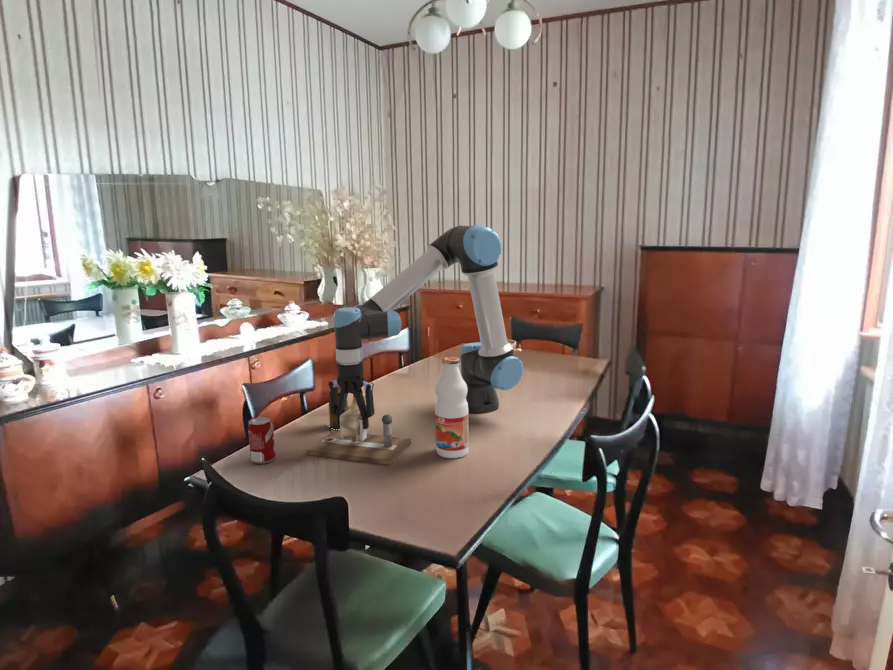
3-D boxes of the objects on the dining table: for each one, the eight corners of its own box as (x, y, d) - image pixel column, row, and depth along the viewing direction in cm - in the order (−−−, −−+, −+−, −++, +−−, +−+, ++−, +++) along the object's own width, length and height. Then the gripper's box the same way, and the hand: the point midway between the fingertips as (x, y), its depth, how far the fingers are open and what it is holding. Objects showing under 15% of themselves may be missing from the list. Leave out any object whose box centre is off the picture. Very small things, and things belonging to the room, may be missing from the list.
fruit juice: (475, 452, 170) (474, 358, 164) (452, 462, 164) (450, 364, 158) (453, 443, 177) (451, 352, 171) (429, 452, 170) (427, 358, 165)
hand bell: (367, 412, 206) (365, 368, 203) (345, 411, 208) (342, 367, 204) (375, 405, 214) (373, 362, 211) (353, 404, 216) (351, 361, 212)
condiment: (346, 421, 198) (344, 386, 195) (354, 429, 190) (352, 393, 188) (325, 424, 195) (323, 390, 192) (332, 433, 187) (329, 397, 185)
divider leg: (366, 438, 176) (364, 410, 174) (356, 446, 171) (355, 417, 169) (351, 436, 178) (349, 409, 176) (341, 444, 172) (339, 415, 170)
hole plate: (411, 443, 177) (410, 407, 175) (389, 465, 163) (388, 425, 160) (334, 435, 185) (332, 400, 183) (307, 454, 171) (304, 416, 168)
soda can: (262, 467, 163) (258, 426, 160) (245, 462, 166) (242, 421, 164) (280, 458, 168) (277, 418, 166) (264, 453, 172) (261, 414, 169)
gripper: (384, 360, 170) (388, 436, 175) (327, 356, 176) (331, 430, 180) (373, 367, 163) (377, 445, 168) (314, 362, 169) (319, 439, 173)
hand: (353, 437), depth 174 cm, fingers open, 6 cm apart
